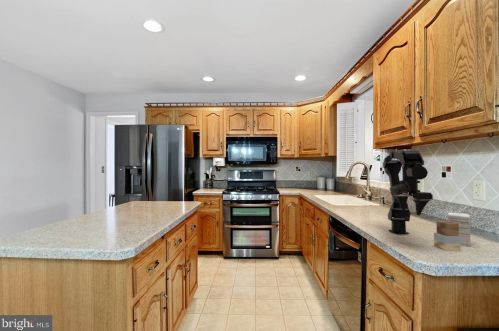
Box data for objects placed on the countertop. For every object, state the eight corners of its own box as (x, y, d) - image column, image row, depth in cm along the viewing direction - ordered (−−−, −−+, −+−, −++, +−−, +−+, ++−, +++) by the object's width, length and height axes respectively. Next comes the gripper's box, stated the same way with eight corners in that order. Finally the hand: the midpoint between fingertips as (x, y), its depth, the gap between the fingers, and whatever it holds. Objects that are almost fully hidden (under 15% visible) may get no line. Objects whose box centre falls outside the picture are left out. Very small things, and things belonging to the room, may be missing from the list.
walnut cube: (436, 232, 101) (436, 221, 101) (447, 232, 102) (447, 220, 102) (447, 236, 96) (446, 223, 96) (458, 236, 97) (458, 223, 97)
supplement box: (447, 239, 111) (447, 211, 111) (469, 242, 106) (469, 213, 106) (448, 243, 105) (447, 214, 105) (470, 246, 101) (470, 216, 101)
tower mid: (433, 239, 102) (433, 232, 102) (447, 239, 102) (447, 232, 102) (446, 244, 96) (446, 236, 96) (460, 243, 96) (460, 236, 96)
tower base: (434, 246, 102) (434, 239, 102) (447, 246, 102) (447, 239, 102) (446, 251, 96) (446, 244, 96) (460, 251, 96) (460, 243, 96)
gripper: (380, 177, 116) (380, 209, 116) (407, 179, 98) (408, 218, 98) (402, 177, 117) (402, 209, 117) (433, 179, 98) (434, 217, 98)
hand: (410, 213), depth 107 cm, fingers open, 9 cm apart
